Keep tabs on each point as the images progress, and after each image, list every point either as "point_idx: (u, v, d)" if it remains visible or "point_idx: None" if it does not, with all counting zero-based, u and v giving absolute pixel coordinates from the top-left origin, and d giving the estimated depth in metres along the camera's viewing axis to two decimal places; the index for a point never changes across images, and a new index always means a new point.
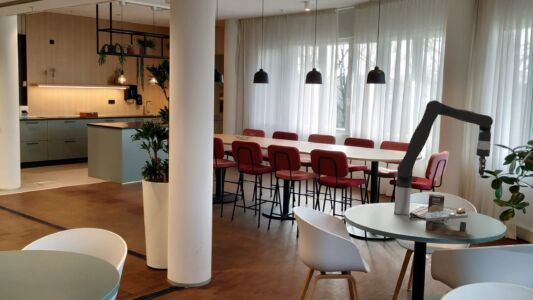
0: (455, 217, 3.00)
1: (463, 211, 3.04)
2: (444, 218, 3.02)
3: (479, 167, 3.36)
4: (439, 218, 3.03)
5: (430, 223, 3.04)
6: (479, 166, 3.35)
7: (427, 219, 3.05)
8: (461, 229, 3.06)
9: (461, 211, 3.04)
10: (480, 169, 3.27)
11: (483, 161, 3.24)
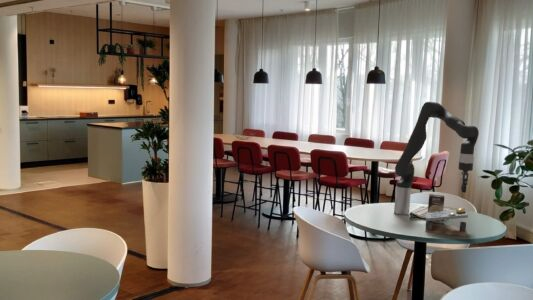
0: (455, 217, 3.00)
1: (463, 211, 3.04)
2: (444, 218, 3.02)
3: (462, 183, 3.08)
4: (439, 218, 3.03)
5: (430, 223, 3.04)
6: (462, 182, 3.08)
7: (427, 219, 3.05)
8: (461, 229, 3.06)
9: (461, 211, 3.04)
10: None
11: (465, 177, 2.98)
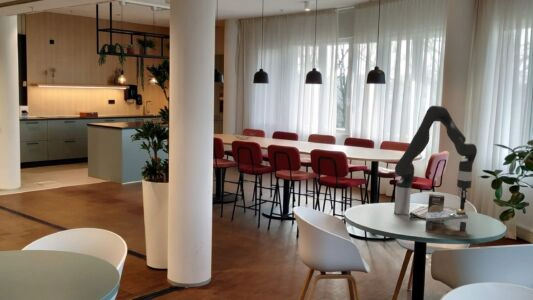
0: (455, 218, 3.00)
1: (463, 212, 3.04)
2: (444, 218, 3.02)
3: None
4: (439, 218, 3.03)
5: (430, 223, 3.04)
6: None
7: (427, 219, 3.05)
8: (461, 229, 3.06)
9: (461, 212, 3.04)
10: (460, 202, 3.06)
11: (463, 197, 3.00)
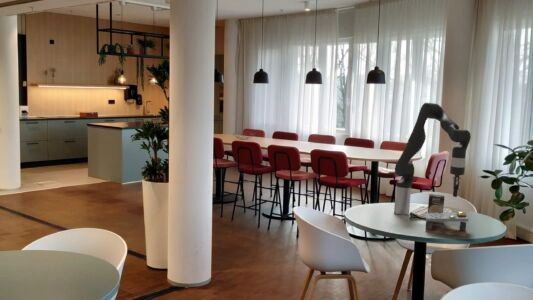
0: (455, 220, 3.00)
1: (464, 215, 3.04)
2: (444, 220, 3.02)
3: None
4: (439, 219, 3.03)
5: (430, 223, 3.04)
6: None
7: (427, 219, 3.05)
8: (461, 229, 3.06)
9: (462, 214, 3.04)
10: None
11: (456, 184, 2.96)
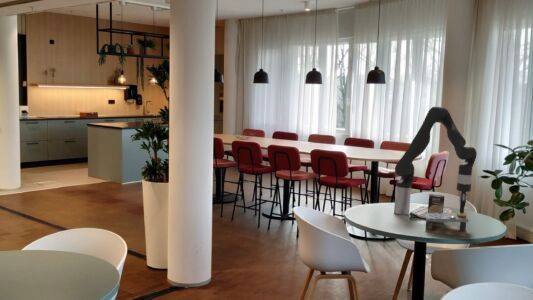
0: (455, 220, 3.00)
1: (464, 215, 3.04)
2: (444, 220, 3.02)
3: None
4: (439, 219, 3.03)
5: (430, 223, 3.04)
6: None
7: (427, 219, 3.05)
8: (461, 229, 3.06)
9: (462, 215, 3.04)
10: (460, 206, 3.06)
11: (463, 201, 3.00)
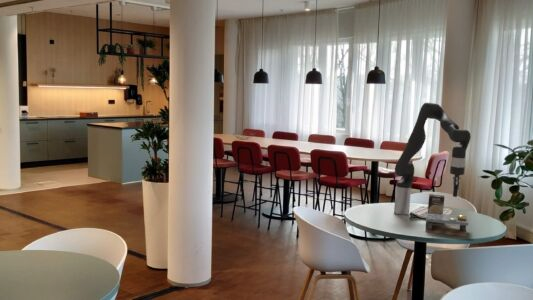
0: (455, 223, 3.00)
1: (464, 218, 3.05)
2: (444, 222, 3.02)
3: None
4: (439, 221, 3.03)
5: (430, 223, 3.04)
6: None
7: (427, 219, 3.04)
8: (461, 229, 3.06)
9: (462, 218, 3.04)
10: None
11: (456, 184, 2.96)
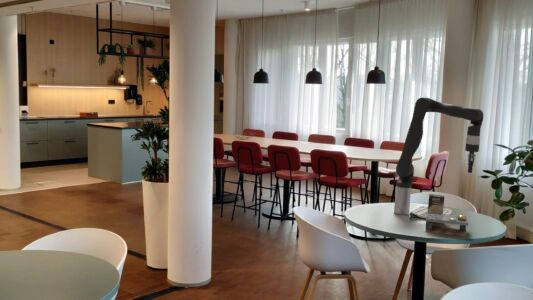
0: (455, 223, 3.00)
1: (464, 218, 3.05)
2: (444, 222, 3.02)
3: None
4: (439, 221, 3.03)
5: (430, 223, 3.04)
6: None
7: (427, 219, 3.04)
8: (461, 229, 3.06)
9: (462, 218, 3.04)
10: (468, 166, 3.18)
11: (471, 160, 3.12)
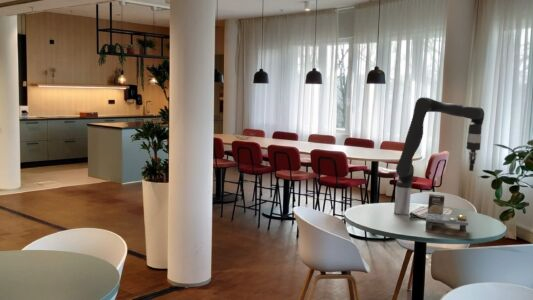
0: (455, 223, 3.00)
1: (464, 218, 3.05)
2: (444, 222, 3.02)
3: (470, 164, 3.20)
4: (439, 221, 3.03)
5: (430, 223, 3.04)
6: (470, 163, 3.20)
7: (427, 219, 3.04)
8: (461, 229, 3.06)
9: (462, 218, 3.04)
10: (470, 164, 3.19)
11: (473, 158, 3.14)
